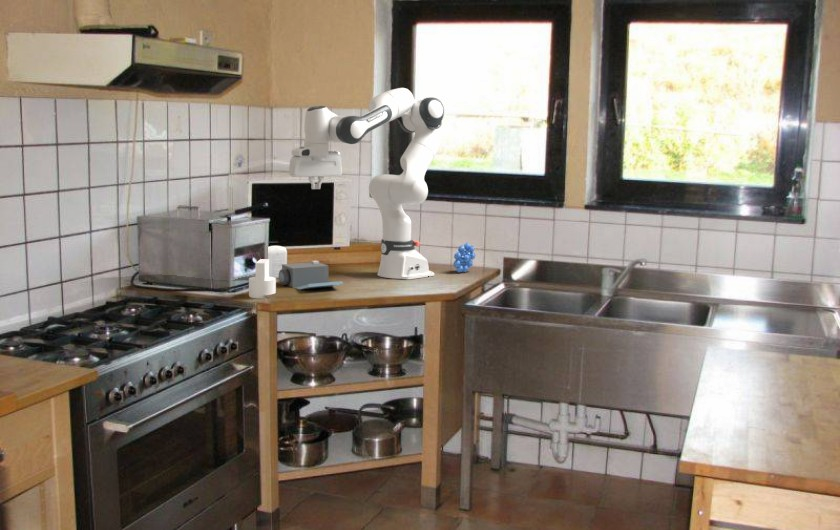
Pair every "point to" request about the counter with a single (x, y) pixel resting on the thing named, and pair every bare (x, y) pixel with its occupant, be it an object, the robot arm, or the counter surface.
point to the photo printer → (276, 260)
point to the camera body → (303, 274)
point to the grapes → (464, 258)
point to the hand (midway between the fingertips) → (315, 189)
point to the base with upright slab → (262, 281)
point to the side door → (320, 285)
